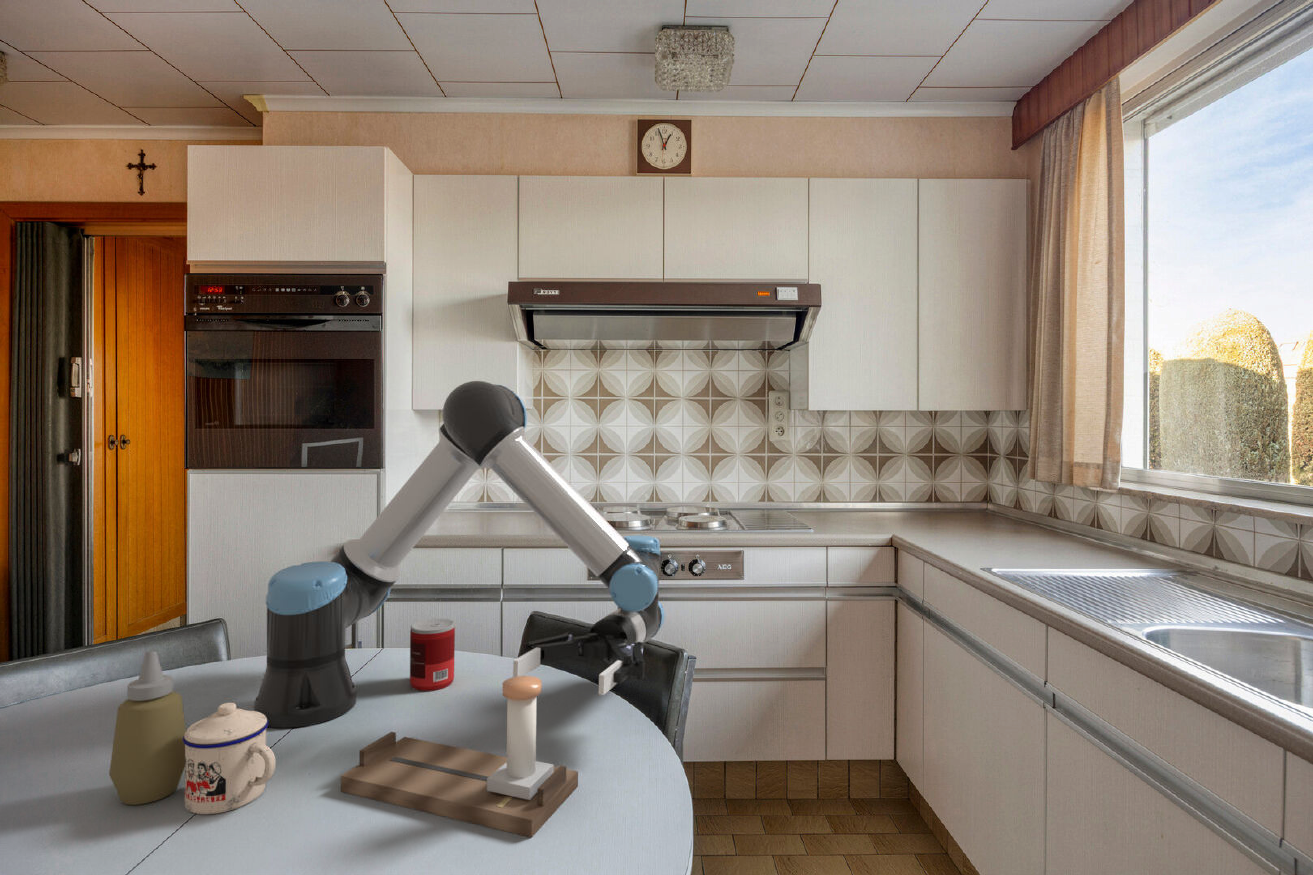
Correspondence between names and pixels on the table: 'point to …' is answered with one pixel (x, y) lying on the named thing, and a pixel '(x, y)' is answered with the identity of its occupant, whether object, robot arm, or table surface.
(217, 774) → the teacup with lid
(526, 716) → the fader
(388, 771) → the fader track
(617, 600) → the robot arm
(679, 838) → the table surface
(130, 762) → the squeeze bottle
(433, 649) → the canned food
